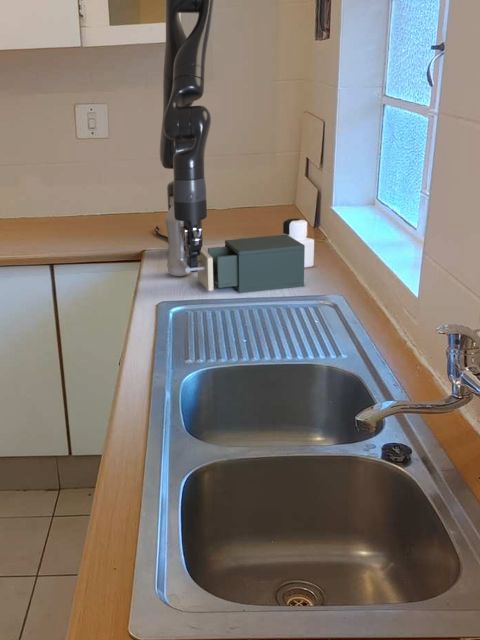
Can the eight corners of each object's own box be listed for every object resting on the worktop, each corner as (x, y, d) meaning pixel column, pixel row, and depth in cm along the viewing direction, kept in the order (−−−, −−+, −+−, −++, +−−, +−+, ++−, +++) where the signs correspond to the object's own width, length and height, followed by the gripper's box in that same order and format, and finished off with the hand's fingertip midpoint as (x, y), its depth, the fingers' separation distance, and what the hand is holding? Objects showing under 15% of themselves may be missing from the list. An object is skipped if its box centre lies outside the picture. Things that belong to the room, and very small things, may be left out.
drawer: (188, 293, 175) (186, 260, 172) (178, 280, 186) (177, 249, 183) (268, 285, 177) (268, 252, 174) (254, 272, 188) (254, 241, 185)
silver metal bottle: (177, 270, 198) (174, 193, 190) (198, 273, 194) (195, 195, 186) (162, 276, 194) (158, 198, 186) (183, 279, 190) (179, 199, 182)
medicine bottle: (275, 265, 197) (275, 219, 193) (298, 260, 200) (299, 215, 195) (290, 270, 191) (291, 223, 187) (314, 266, 194) (315, 220, 189)
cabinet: (239, 292, 176) (238, 251, 173) (225, 278, 188) (224, 240, 184) (303, 286, 178) (304, 245, 175) (286, 272, 190) (286, 234, 186)
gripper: (212, 201, 167) (214, 276, 174) (199, 192, 179) (201, 263, 186) (179, 204, 166) (183, 280, 173) (168, 195, 178) (172, 266, 185)
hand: (192, 271), depth 179 cm, fingers closed
